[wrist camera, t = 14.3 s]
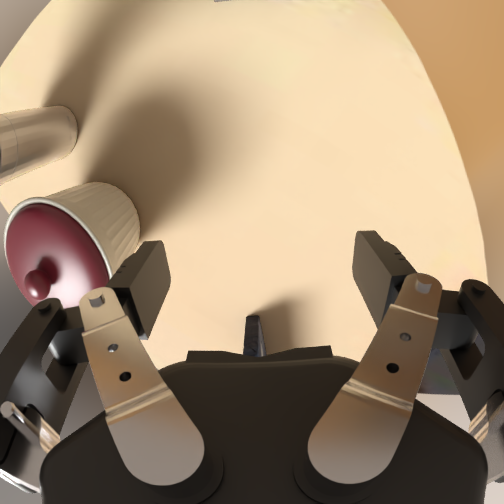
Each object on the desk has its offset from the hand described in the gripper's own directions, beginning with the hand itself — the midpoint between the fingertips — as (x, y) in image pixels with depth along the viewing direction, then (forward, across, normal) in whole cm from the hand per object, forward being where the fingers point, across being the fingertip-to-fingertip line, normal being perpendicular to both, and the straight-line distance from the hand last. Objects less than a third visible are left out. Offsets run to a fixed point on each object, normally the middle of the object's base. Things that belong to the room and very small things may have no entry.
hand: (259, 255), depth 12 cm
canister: (+30, +25, +8) cm, 40 cm away
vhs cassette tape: (+30, +2, +37) cm, 48 cm away
